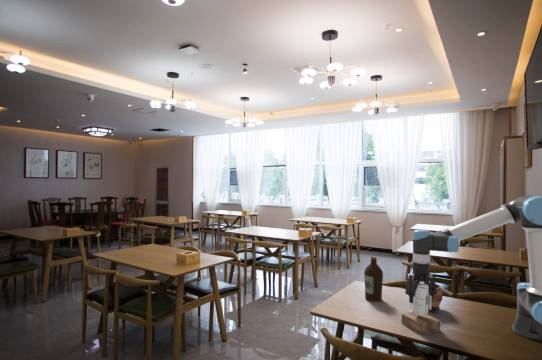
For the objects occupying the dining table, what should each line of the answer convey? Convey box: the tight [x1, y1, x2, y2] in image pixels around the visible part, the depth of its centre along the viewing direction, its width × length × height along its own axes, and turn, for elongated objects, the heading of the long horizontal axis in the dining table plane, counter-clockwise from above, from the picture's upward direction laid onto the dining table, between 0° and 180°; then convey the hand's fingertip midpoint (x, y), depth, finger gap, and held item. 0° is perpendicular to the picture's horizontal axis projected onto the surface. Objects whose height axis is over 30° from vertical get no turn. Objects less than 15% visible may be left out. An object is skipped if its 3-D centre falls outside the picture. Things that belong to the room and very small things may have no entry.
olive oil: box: [363, 256, 384, 303], centre depth 193 cm, size 11×11×25 cm
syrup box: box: [412, 281, 429, 316], centre depth 156 cm, size 6×6×14 cm
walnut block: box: [401, 311, 441, 335], centre depth 156 cm, size 12×12×5 cm
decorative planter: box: [428, 281, 443, 313], centre depth 177 cm, size 20×12×14 cm, turn 148°
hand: (420, 308), depth 156 cm, fingers closed on syrup box, 8 cm apart
